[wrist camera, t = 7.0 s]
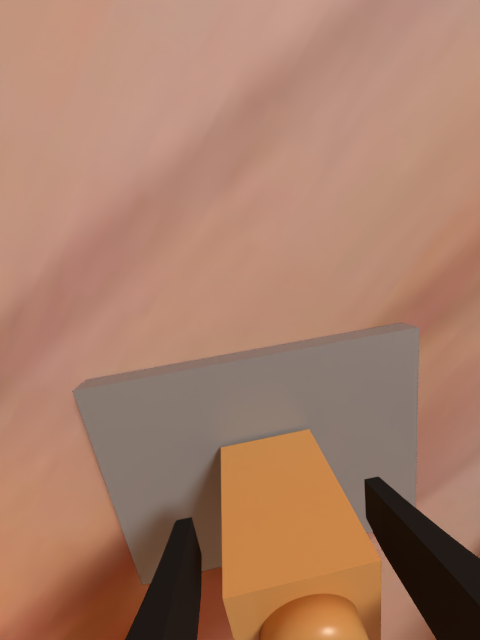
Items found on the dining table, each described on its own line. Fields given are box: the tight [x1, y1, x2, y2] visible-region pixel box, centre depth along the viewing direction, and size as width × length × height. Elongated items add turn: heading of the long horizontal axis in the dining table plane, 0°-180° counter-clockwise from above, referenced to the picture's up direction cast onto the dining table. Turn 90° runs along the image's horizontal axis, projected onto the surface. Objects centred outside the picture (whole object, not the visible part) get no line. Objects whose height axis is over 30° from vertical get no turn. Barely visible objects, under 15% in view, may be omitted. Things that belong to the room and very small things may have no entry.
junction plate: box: [73, 323, 419, 585], centre depth 10 cm, size 16×12×4 cm
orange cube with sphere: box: [221, 429, 381, 640], centre depth 9 cm, size 4×4×6 cm
